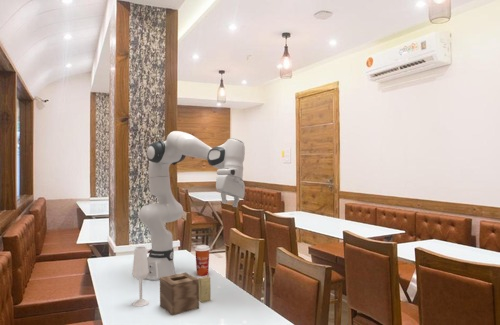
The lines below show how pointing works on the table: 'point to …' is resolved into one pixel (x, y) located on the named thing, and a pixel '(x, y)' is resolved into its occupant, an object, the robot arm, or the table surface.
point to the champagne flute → (140, 271)
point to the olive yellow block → (204, 289)
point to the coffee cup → (202, 259)
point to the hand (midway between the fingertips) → (229, 205)
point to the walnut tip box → (179, 293)
